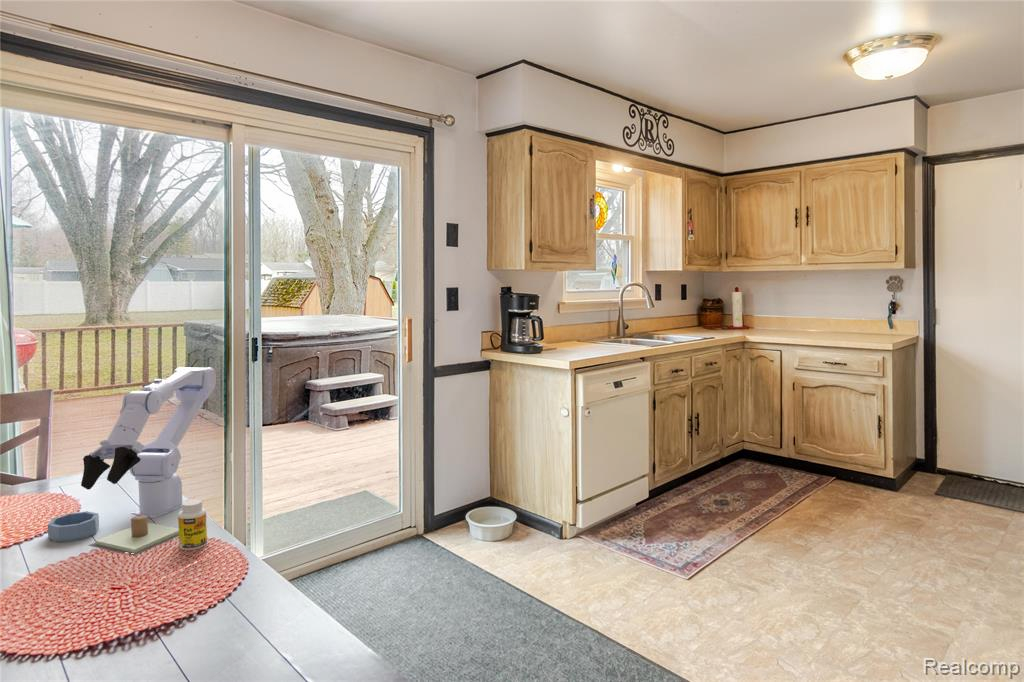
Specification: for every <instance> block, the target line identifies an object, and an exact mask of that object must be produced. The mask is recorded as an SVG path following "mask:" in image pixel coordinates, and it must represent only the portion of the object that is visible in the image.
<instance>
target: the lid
mask: <svg viewBox="0 0 1024 682" xmlns="http://www.w3.org/2000/svg"><path fill="white" fill-rule="evenodd" d="M177 534H179V527H178V528H177V527H172V526H168V525H163V524H157V523H153V522H149V521H148V517H147V516H145V515H136V516H133V517H131V518H130V527H127V528H125V529H122V530H120V531H117V532H115V533H112V534H110V535H107V536H105V537H102V538H100V539H97V540H95V543H96V544H97V545H102V546H106V547H110V548H115V549H119V550H124V551H128V552H132V553H136V552H138V551H141V550H143V549H145V548H147V547H150V546H152V545H154V544H157V543H159V542H161V541H163V540H166V539H168V538H170V537H173V536H175V535H177Z"/></svg>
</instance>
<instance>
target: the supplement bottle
mask: <svg viewBox="0 0 1024 682" xmlns="http://www.w3.org/2000/svg"><path fill="white" fill-rule="evenodd" d="M177 517H178V518H177V519H178V520H177V521H178V529H179V536H178V546H179V548H180V550H184V551H191V550H192V551H193V550H197V549H200V548H202V547H204V546H206V545H207V543H208V536H207V535H208V534H207V531H208V530H207V528H208V527H207V509H205V508H204V507H203V501H202V500H201V499H196V498H195V499H189V500H185V501H182V507H181V511H179V512H178V515H177Z"/></svg>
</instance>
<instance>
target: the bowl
mask: <svg viewBox="0 0 1024 682" xmlns="http://www.w3.org/2000/svg"><path fill="white" fill-rule="evenodd" d="M99 518H100V517H99V513H97V512H92V511H88V510H87V511H86V510H85V511H79V512H77V511H76V512H69V513H66V514H64V515H59V516H57V517H53V518H52V519H51V520H50V521H49V522H48V524H47V535H48V537H47V538H48V539H50V540H51V541H52V542H56V543H68V542H74V541H80V540H83V539H86V538H89V537H92V536H93V535H95V534H96V533H97V532H98V529H99V527H100V521H99Z"/></svg>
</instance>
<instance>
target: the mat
mask: <svg viewBox="0 0 1024 682" xmlns="http://www.w3.org/2000/svg"><path fill="white" fill-rule="evenodd" d="M176 538H179V534H177V535H175V536H173V537H170V538H168V539H166V540H163V541H161V542H159V543H157V544H154V545H152V546H150V547H147V548H145V549H143V550H141V551H138V552H136V553H134V554H131V553H132V552H129V554H130V555H129V556H132V555H133V557H135V556H137V555H139V554H141V553H144V552H146V551H148V550H150V549H153V548H155V547H157V546H159V545H163V544H164V543H166V542H168V541H169V542H170V541H171V540H173V539H176ZM88 546H89V547H94V548H98V549H102V550H107V551H111V552H114V553H115V552H116V553H119V554H123V553H125V552H128V551H124V550H119V549H115V548H110V547H106V546H102V545H97V544H96V542H93V543H91V544H88Z"/></svg>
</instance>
